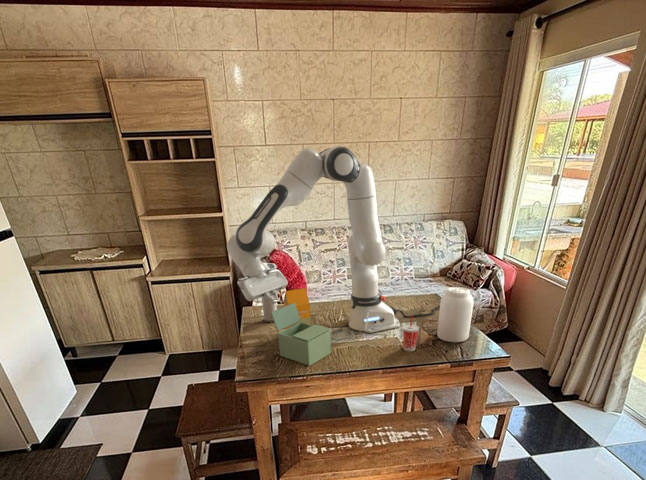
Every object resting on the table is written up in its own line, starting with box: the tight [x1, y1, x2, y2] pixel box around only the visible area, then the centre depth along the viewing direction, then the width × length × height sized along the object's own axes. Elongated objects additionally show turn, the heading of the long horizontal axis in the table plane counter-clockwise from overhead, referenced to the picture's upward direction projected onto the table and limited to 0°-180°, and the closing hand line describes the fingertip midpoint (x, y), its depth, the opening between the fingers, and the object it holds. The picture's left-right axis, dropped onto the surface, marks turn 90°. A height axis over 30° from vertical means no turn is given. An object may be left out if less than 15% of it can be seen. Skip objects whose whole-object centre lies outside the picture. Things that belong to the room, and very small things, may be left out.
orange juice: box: [283, 287, 312, 329], centre depth 169 cm, size 8×9×20 cm
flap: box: [271, 303, 301, 332], centre depth 156 cm, size 7×13×1 cm
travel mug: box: [261, 294, 278, 323], centre depth 185 cm, size 6×7×20 cm
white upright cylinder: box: [436, 286, 475, 343], centre depth 162 cm, size 12×12×20 cm
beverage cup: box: [402, 314, 420, 352], centre depth 155 cm, size 6×6×14 cm
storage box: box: [277, 322, 332, 367], centre depth 155 cm, size 15×13×10 cm
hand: (276, 302), depth 156 cm, fingers closed
